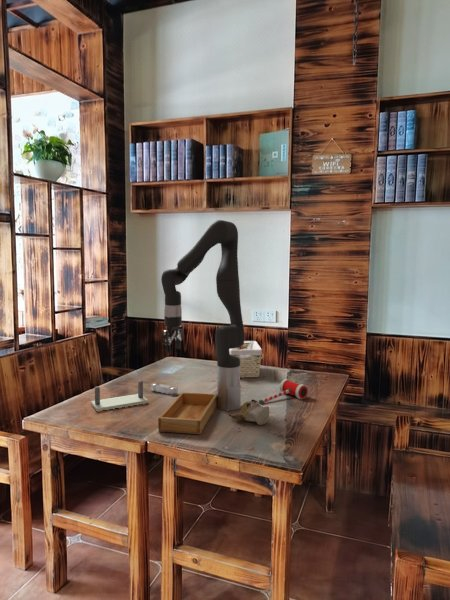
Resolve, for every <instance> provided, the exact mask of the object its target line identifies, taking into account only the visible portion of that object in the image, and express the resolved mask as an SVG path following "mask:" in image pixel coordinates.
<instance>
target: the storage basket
mask: <svg viewBox="0 0 450 600" xmlns="http://www.w3.org/2000/svg"><path fill="white" fill-rule="evenodd" d="M242 347H243V348H242ZM240 348H242V349H239V348H232V349H229V353H230V355H232V356H236V357H238V358H239V359H240V378H246V379H248V378H259V377H260V372H261V371H260V370H261V359H262V355H263V352H262V351H263V349H262V348H261V346H260V345H259V343H258V342H257V341H256V340H244V344H243V346H241V347H240Z"/></svg>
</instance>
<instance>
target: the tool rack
mask: <svg viewBox="0 0 450 600" xmlns="http://www.w3.org/2000/svg"><path fill="white" fill-rule="evenodd" d="M143 383H144V380H142V379H141V380H138V381H137V393H136V394H128V395H122V396H117V397H110V398H109V397H108V398H102V399H101V387H100V386H95V387H94V400H91V401H90V405H91V404H92V405H91V407H92V408H93V407H94V408H95V409H96V410H95V409H94V408H93V409H94V410H95V412H96V411H101V412H103V411H102V410H107V411H109V410H108V409H113V410H116V409H115V408H119V409H123V408H122V407H125V408H129V407H128V406H131V407H134V406H133V405H137V406H139V405H138V404H143V405H145V404H144V403H148V404H149V399H147V398H146V397H145V396H144V384H143Z"/></svg>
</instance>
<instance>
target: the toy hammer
mask: <svg viewBox="0 0 450 600" xmlns="http://www.w3.org/2000/svg"><path fill="white" fill-rule="evenodd" d="M279 391H280V392H278V393H277V394H273V395H271V396H269V397H266V398H264V399H260V400H258V403H259V405H260V406H261V405H263V404H264V405H265V403H267V402H269V401H271V400H275V399H277V398H280V397H281V396H283V395H286V394H289V395H291V396H294V397H295V398H296V399H298V400H303V399H305V398H307V396H308V394H309V388H308V385H306V384H302V383H296V382H293V381H291V380H290V379H287V378H284V379H283V380H281V381H280V384H279Z"/></svg>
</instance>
